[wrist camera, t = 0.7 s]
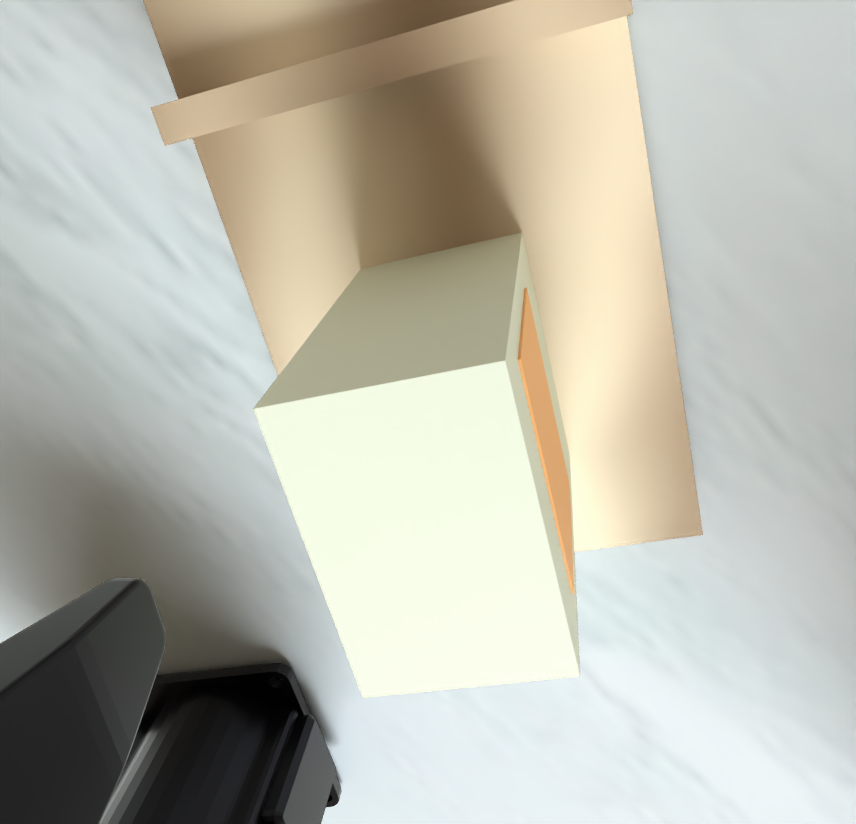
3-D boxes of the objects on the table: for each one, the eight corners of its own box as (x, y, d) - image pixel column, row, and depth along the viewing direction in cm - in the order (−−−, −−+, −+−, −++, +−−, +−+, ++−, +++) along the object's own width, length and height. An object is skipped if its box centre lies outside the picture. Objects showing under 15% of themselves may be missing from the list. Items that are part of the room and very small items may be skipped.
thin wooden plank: (362, 552, 25) (340, 615, 23) (98, -210, 17) (16, -252, 15) (693, 505, 23) (712, 568, 20) (559, -395, 15) (561, -485, 13)
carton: (423, 479, 22) (362, 698, 15) (360, 269, 20) (252, 409, 13) (571, 455, 21) (583, 676, 14) (524, 231, 19) (508, 359, 12)
